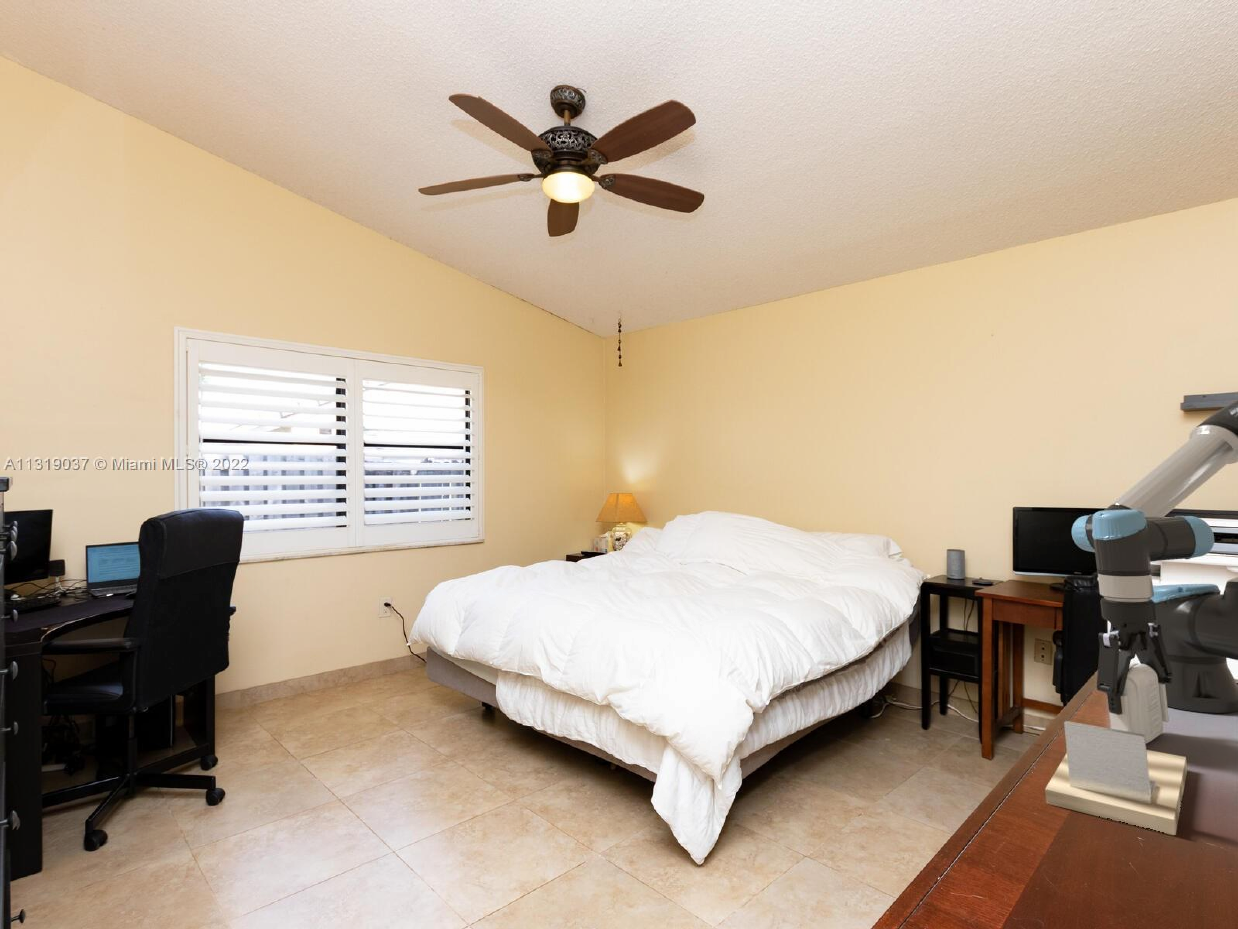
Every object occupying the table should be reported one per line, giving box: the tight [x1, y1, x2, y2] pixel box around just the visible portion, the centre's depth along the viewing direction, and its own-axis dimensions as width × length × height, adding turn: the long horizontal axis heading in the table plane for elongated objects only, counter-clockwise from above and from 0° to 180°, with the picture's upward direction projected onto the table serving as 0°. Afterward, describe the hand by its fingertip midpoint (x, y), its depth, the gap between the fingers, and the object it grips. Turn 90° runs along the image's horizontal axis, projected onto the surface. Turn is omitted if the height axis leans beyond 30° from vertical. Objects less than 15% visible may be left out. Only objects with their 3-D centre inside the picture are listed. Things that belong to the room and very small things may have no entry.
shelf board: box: [1044, 749, 1188, 836], centre depth 95 cm, size 24×14×2 cm, turn 135°
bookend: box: [1063, 720, 1156, 805], centre depth 91 cm, size 7×9×9 cm
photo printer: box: [1123, 662, 1164, 744], centre depth 111 cm, size 10×4×12 cm, turn 124°
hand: (1140, 725), depth 110 cm, fingers closed on photo printer, 10 cm apart
